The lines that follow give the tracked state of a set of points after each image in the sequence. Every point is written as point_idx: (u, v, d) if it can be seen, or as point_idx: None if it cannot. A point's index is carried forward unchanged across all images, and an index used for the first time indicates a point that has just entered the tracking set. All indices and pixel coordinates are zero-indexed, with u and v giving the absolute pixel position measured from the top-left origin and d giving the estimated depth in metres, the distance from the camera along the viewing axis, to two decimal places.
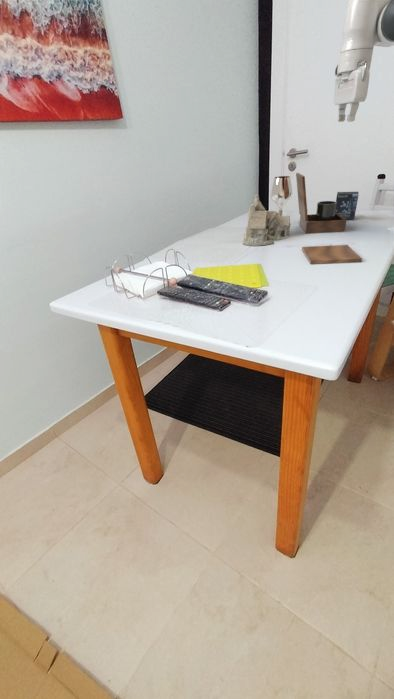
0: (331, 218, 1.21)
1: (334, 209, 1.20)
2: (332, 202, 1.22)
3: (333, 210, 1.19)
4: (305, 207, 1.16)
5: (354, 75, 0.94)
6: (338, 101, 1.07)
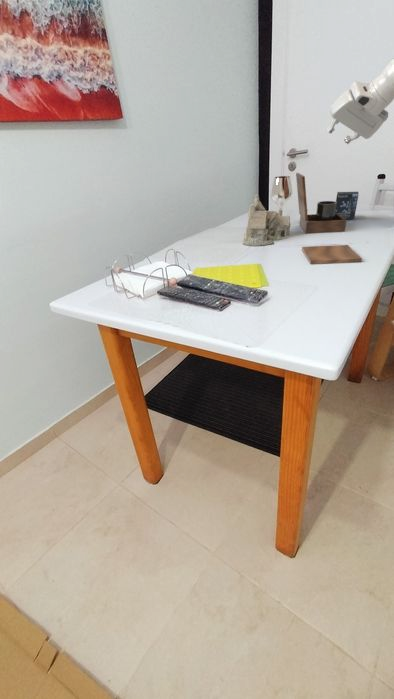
0: (331, 218, 1.21)
1: (334, 209, 1.20)
2: (332, 202, 1.22)
3: (333, 210, 1.19)
4: (305, 207, 1.16)
5: (379, 122, 1.14)
6: (343, 122, 1.12)
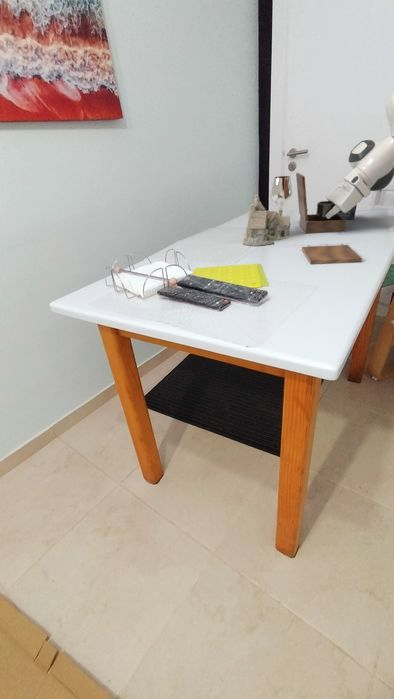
0: (331, 218, 1.21)
1: None
2: None
3: None
4: (305, 207, 1.16)
5: None
6: None
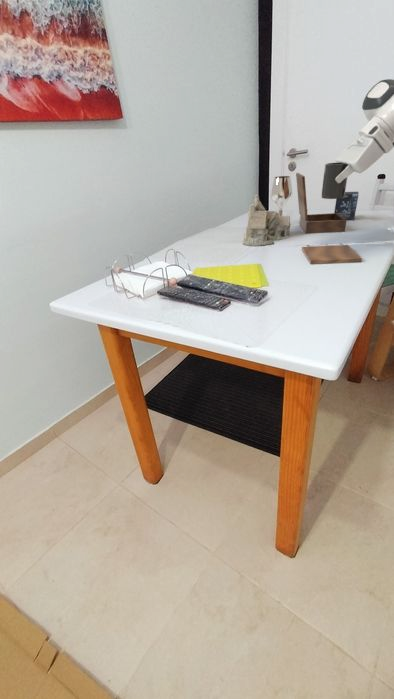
0: (342, 183, 0.97)
1: None
2: (343, 163, 0.99)
3: None
4: (305, 207, 1.16)
5: None
6: None
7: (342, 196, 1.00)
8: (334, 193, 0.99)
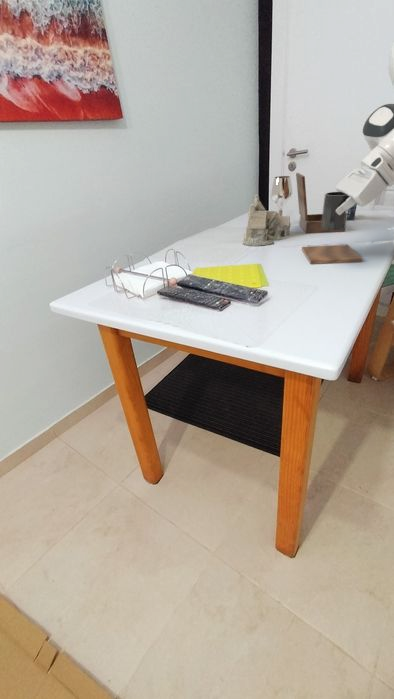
0: (343, 214, 0.92)
1: None
2: None
3: None
4: (305, 207, 1.16)
5: None
6: None
7: (343, 227, 0.95)
8: (334, 224, 0.94)
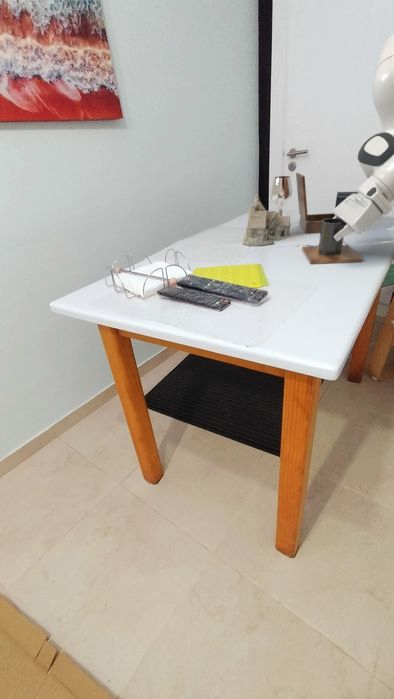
0: (339, 240, 0.96)
1: None
2: (340, 220, 0.97)
3: None
4: (305, 207, 1.16)
5: None
6: None
7: (339, 252, 0.98)
8: (331, 250, 0.97)
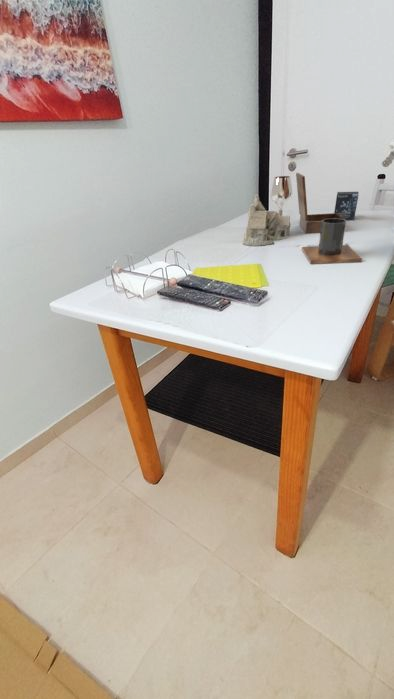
0: (339, 240, 0.96)
1: (343, 229, 0.95)
2: (340, 220, 0.97)
3: (342, 230, 0.95)
4: (305, 207, 1.16)
5: None
6: None
7: (339, 252, 0.98)
8: (331, 250, 0.97)
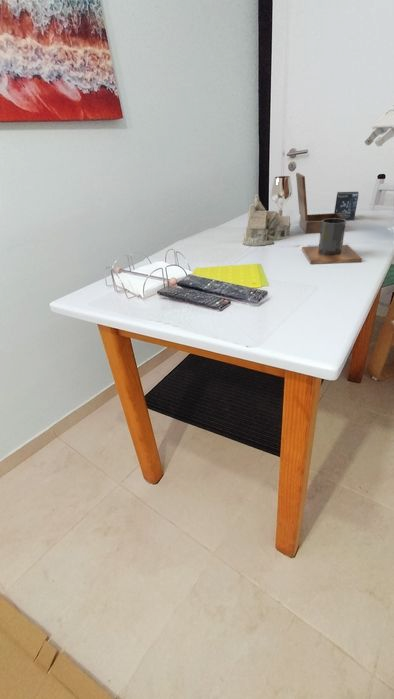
0: (339, 240, 0.96)
1: (343, 229, 0.95)
2: (340, 220, 0.97)
3: (342, 230, 0.95)
4: (305, 207, 1.16)
5: None
6: None
7: (339, 252, 0.98)
8: (331, 250, 0.97)
